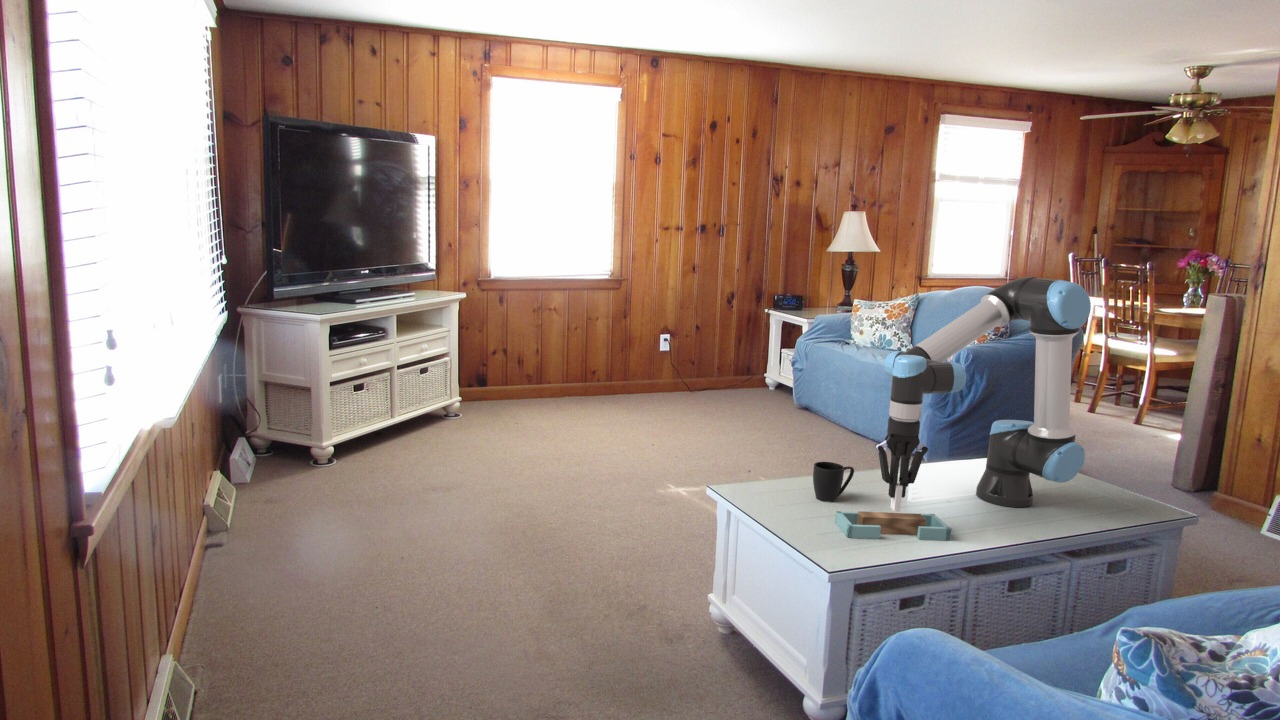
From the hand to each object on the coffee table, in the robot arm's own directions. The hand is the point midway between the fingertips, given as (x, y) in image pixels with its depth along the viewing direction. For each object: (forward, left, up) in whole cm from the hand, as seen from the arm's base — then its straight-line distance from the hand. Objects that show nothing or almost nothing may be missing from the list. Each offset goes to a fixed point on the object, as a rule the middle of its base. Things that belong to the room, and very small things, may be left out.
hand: (895, 509), depth 215 cm
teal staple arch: (-9, 0, -6) cm, 10 cm away
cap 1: (+9, 0, -6) cm, 11 cm away
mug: (+8, -24, -6) cm, 26 cm away
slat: (+1, 0, -6) cm, 6 cm away
